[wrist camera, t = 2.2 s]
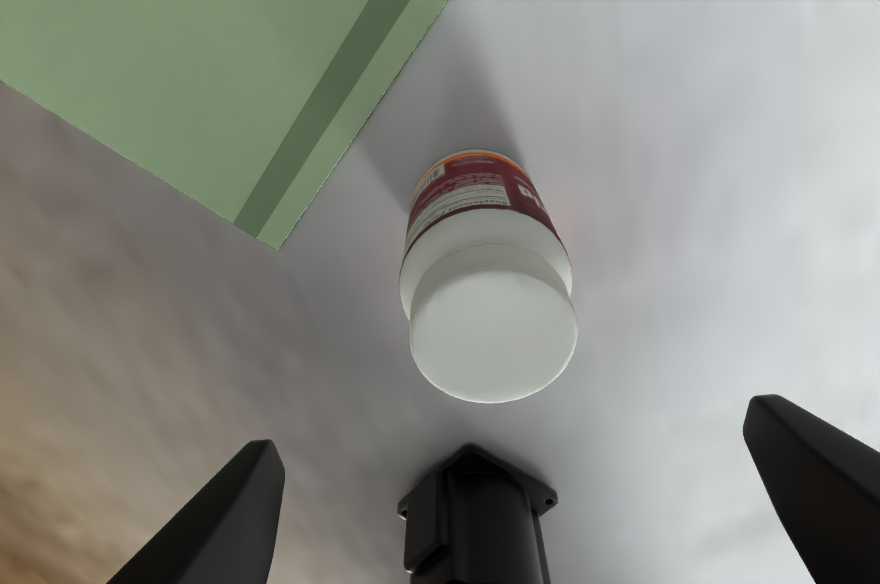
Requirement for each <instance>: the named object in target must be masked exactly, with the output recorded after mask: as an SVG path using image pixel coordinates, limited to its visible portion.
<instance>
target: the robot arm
mask: <svg viewBox="0 0 880 584" xmlns="http://www.w3.org/2000/svg"><path fill="white" fill-rule="evenodd" d="M743 436H744V440H745V442H746V445H747V447H748V449H749V451H750V454H751V456H752V458H753V461H754V463H755V465H756V467H757V470H758V472H759V474H760V477H761V479H762V481H763V483H764V486H765V488H766V490H767V493H768V495H769V497H770V499H771V502H772V504H773V506H774V508H775V510H776V513H777V515H778V517H779V519H780V521H781V523H782V525H783V526H784V528H785V530H786V532H787V534H788V536H789V537H790V539H791V541H792V543H793V544H794V546H795V548H796V550H797V551H798V553H799V555H800V557H801V558H802V560H803V562H804V564H805V565H806V567H807V569H808V571H809V572H810V574H811V576H812V578H813V579H814V581H815V583H816V584H880V452H878V451H876V450H874V449H873V448H871V447H869V446H867V445H866V444H864V443H862V442H860V441H859V440H857V439H855V438H853V437H852V436H850V435H848V434H846V433H845V432H843V431H841V430H839V429H838V428H836V427H834V426H832V425H831V424H829V423H827V422H825V421H824V420H822V419H820V418H818V417H817V416H815V415H813V414H811V413H810V412H808V411H806V410H804V409H803V408H801V407H799V406H797V405H796V404H794V403H792V402H790V401H789V400H787V399H785V398H783V397H781V396H779V395H776V394H770V395H759V396H754V397H752V398H751V400H750V402H749V406H748V409H747V413H746V417H745V421H744V425H743ZM468 455H472V456H468ZM284 482H285V469H284V466H283V463H282V461H281V459H280V456H279V454H278V451H277V449H276V447H275V444H274V443H273V442H272V441H271V440H268V439H266V440H255V441H251V442H249V443H247V444H246V445H245V446H244V447H243V448H242V449H241V450H240V451H239V452H238V453H237V454H236V455H235V456H234V457H233V458H232V459H231V460H230V461H229V462H228V463H227V464H226V465H225V466H224V467H223V468H222V469H221V470H220V471H219V472H218V473H217V474H216V475H215V476H214V477H213V478H212V479H211V480H210V481H209V482H208V483H207V484H206V485H205V486H204V487H203V488H202V489H201V490H200V491H199V492H198V493H197V494H196V495H195V496H194V497H193V498H192V499H191V500H190V501H189V502H188V503H187V504H186V505H185V506H184V507H183V508H182V509H181V510H180V511H179V512H178V513H177V514H176V515H175V516H174V517H173V518H172V519H171V520H170V521H169V522H168V523H167V524H166V525H165V526H164V527H163V528H162V529H161V530H160V531H159V532H158V533H157V534H156V535H155V536H154V537H153V538H152V539H151V540H150V541H149V542H148V543H147V544H146V545H145V546H144V547H142V548H141V549H140V550H139V551H138V552H137V553H136V554H135V555H134V556H133V557H132V558H131V559H130V560H129V561H128V562H127V563H126V564H125V565H124V566H123V567H122V568H121V569H120V570H119V571H118V572H117V573H116V574H115V575H114V576H113V577H112V578H111V579H110V580H109V581H108V582H107V583H106V584H266V582H267V578H268V574H269V571H270V567H271V562H272V558H273V553H274V547H275V541H276V535H277V528H278V522H279V515H280V508H281V502H282V495H283V489H284ZM557 503H558V497H557V493H556V492H555V491H554V490H552V489H550V488H549V487H547V486H545V485H543V484H541V483H540V482H538V481H536V480H534V479H532V478H531V477H529V476H527V475H525V474H523V473H522V472H520V471H518V470H516V469H515V468H513V467H511V466H509V465H507V464H506V463H504V462H502V461H500V460H498V459H497V458H495V457H493V456H491V455H489V454H488V453H486V452H484V451H482V450H480V449H479V448H477V447H474V446H465V447H464V448H462V449H461V450H460V451H458V452H457V453H456V454H455V455H454V456H453V457H452V458H450V459H449V460H448V461H447V462H446V463H445V464H443V465H442V466H441V467H440V468H439V469H438V470H437V471H435V472H434V473H432V474H431V475H430V476H429V477H428V478H427V479H425V480H424V481H423V482H422V483H421V484H420V485H419V486H417V487H416V488H415V489H414V490H413V491H412V492H410V493H409V495H408V496H406V497H405V498H404V499H403V500H402V501H401V502H400V503H399V504H398V508H397V514H398V516H400V517H401V518H404V519H406V536H405V551H404V568H405V570H406V571H407V572H409V573H410V584H551V582H550V576H549V571H548V565H547V560H546V554H545V549H544V543H543V538H542V533H541V527H540V522H539V517H540V516H541V515H543V514H544V513H546V512H547V511H548V510H550V509H551V508H553V507H554V506H555V505H557Z"/></svg>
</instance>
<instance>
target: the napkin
mask: <svg viewBox="0 0 880 584" xmlns="http://www.w3.org/2000/svg"><path fill="white" fill-rule="evenodd" d="M447 1H448V0H0V80H1V81H3V82H4V83H6V84H7V85H9V86H11V87H12V88H14V89H16V90H17V91H19V92H20V93H22V94H24V95H25V96H27V97H29V98H30V99H32V100H33V101H35V102H37V103H38V104H40V105H42V106H43V107H45V108H46V109H48V110H50V111H51V112H53V113H54V114H56V115H58V116H59V117H61V118H63V119H64V120H66V121H67V122H69V123H71V124H72V125H74V126H76V127H77V128H79V129H80V130H82V131H84V132H85V133H87V134H89V135H90V136H92V137H93V138H95V139H97V140H98V141H100V142H101V143H103V144H105V145H106V146H108V147H110V148H111V149H113V150H114V151H116V152H118V153H119V154H121V155H123V156H124V157H126V158H127V159H129V160H131V161H132V162H134V163H136V164H137V165H139V166H140V167H142V168H144V169H145V170H147V171H148V172H150V173H152V174H153V175H155V176H157V177H158V178H160V179H161V180H163V181H165V182H166V183H168V184H170V185H171V186H173V187H174V188H176V189H178V190H179V191H181V192H183V193H184V194H186V195H187V196H189V197H191V198H192V199H194V200H196V201H197V202H199V203H200V204H202V205H204V206H205V207H207V208H208V209H210V210H212V211H213V212H215V213H217V214H218V215H220V216H221V217H223V218H225V219H226V220H228V221H230V222H231V223H233V224H234V225H236V226H237V227H239V228H240V229H242V230H244V231H245V232H247V233H249V234H250V235H252V236H253V237H255V238H257V239H259V240H260V241H262V242H264V243H265V244H267V245H268V246H270V247H272V248H273V249H275V250H277V251H278V250H279V248H280V247H281V245H282V244H283V242H284V241H285V239H286V238H287V236H288V235H289V234H290V232H291V231H292V229H293V228H294V226H295V225H296V223H297V222H298V220H299V219H300V217H301V216H302V214H303V213H304V211H305V210H306V208H307V207H308V206H309V204H310V203H311V201H312V200H313V198H314V197H315V195H316V194H317V192H318V191H319V189H320V188H321V186H322V185H323V183H324V182H325V180H326V179H327V178H328V176H329V175H330V173H331V172H332V170H333V169H334V167H335V166H336V164H337V163H338V161H339V160H340V158H341V157H342V155H343V154H344V152H345V151H346V150H347V148H348V147H349V145H350V144H351V142H352V141H353V139H354V138H355V136H356V135H357V133H358V132H359V130H360V129H361V127H362V126H363V125H364V123H365V122H366V120H367V119H368V117H369V116H370V114H371V113H372V111H373V110H374V108H375V107H376V105H377V104H378V102H379V101H380V99H381V98H382V97H383V95H384V94H385V92H386V91H387V89H388V88H389V86H390V85H391V83H392V82H393V80H394V79H395V77H396V76H397V74H398V73H399V71H400V70H401V69H402V67H403V66H404V64H405V63H406V61H407V60H408V58H409V57H410V55H411V54H412V52H413V51H414V49H415V48H416V46H417V45H418V43H419V42H420V41H421V39H422V38H423V36H424V35H425V33H426V32H427V30H428V29H429V27H430V26H431V24H432V23H433V21H434V20H435V18H436V17H437V15H438V14H439V13H440V11H441V10H442V8H443V7H444V5H445V4H446V2H447Z"/></svg>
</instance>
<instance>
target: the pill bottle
mask: <svg viewBox="0 0 880 584" xmlns="http://www.w3.org/2000/svg"><path fill="white" fill-rule="evenodd" d="M399 288H400V295H401V300H402V305H403V308H404V311H405V313H406V316H407V318H408V320H409V322H410V325H409V342H410V349H411V353H412V356H413V358H414V361H415V363H416V365H417V367H418V368H419V370H420V371H421V373H422V374H423V375H424V376H425V377H426V378H427V380H428V381H429V382H431V383H432V384H433V385H434V386H435V387H437V388H438V389H440V390H442V391H443V392H445V393H447V394H449V395H451V396H454V397H457V398H459V399H462V400H466V401H471V402H478V403H501V402H509V401H513V400H517V399H521V398H523V397H526V396H528V395H531V394H533V393H535V392H537V391H539V390H541V389H543V388H544V387H546V386H547V385H548V384H550V383H551V382H552V381H553V380H554V379H555V378H557V377H558V376H559V375H560V374H561V372H562V371H563V370H564V369H565V367H566V366H567V364H568V363H569V361H570V359H571V357H572V355H573V353H574V350H575V347H576V342H577V334H578V325H577V318H576V314H575V311H574V308H573V305H572V302H571V300H570V296H571V290H572V274H571V264H570V260H569V258H568V254H567V252H566V250H565V248H564V246H563V244H562V242H561V240H560V238H559V237H558V235H557V233H556V231H555V228H554V227H553V224H552V222H551V220H550V218H549V216H548V213H547V211H546V209H545V208H544V205H543V203H542V201H541V199H540V197H539V195H538V193H537V191H536V189H535V187H534V185H533V183H532V181H531V180H530V178H529V176H528V175H527V174H526V172H525V171H524V170H523V169H522V168H521V167H520V166H519V165H518V164H517V163H516V162H514V161H513V160H512V159H510V158H508V157H506V156H504V155H502V154H500V153H496V152H493V151H489V150H479V149H475V150H465V151H460V152H456V153H453V154H450V155H448V156H446V157H444V158H442V159H441V160H439V161H438V162H436V163H435V164H434V165H433V166H432V167H431V168H430V169H429V170H428V171H427V172H426V173H425V174H424V175H423V177H422V178H421V179H420V181H419V183H418V185H417V187H416V189H415V192H414V195H413V198H412V203H411V209H410V215H409V222H408V228H407V235H406V241H405V247H404V255H403V261H402V267H401V270H400V279H399Z"/></svg>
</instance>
